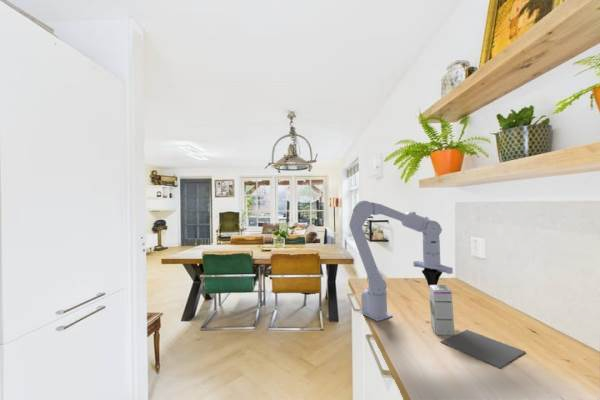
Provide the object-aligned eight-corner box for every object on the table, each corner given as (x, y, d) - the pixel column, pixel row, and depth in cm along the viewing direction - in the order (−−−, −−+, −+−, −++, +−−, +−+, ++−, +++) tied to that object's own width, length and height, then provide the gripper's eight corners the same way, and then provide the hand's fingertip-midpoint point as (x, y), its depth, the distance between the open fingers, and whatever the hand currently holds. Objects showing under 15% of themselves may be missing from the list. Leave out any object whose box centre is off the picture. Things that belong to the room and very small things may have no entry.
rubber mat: (440, 342, 83) (440, 341, 83) (466, 330, 90) (466, 329, 90) (499, 368, 69) (499, 367, 69) (525, 352, 76) (525, 351, 76)
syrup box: (455, 336, 87) (453, 290, 87) (435, 334, 88) (433, 289, 88) (449, 328, 93) (447, 284, 93) (430, 327, 94) (428, 284, 94)
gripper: (457, 254, 97) (458, 292, 97) (421, 249, 110) (422, 283, 110) (445, 256, 94) (446, 296, 94) (409, 250, 106) (410, 286, 106)
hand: (432, 289), depth 101 cm, fingers closed
